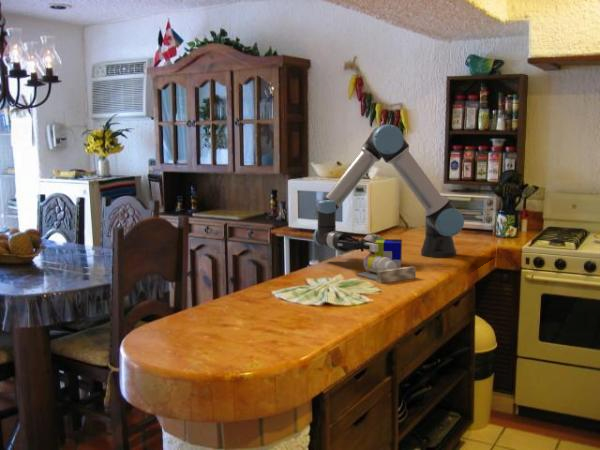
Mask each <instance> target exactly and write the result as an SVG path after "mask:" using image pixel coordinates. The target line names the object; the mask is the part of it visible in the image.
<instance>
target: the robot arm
mask: <svg viewBox="0 0 600 450" xmlns="http://www.w3.org/2000/svg"><path fill="white" fill-rule="evenodd" d="M381 159H383V161H384V162H385V164H391V165H392V166H393V168H394V169H395V171H396V173H397V174H398V175H399V176H400V178H401V179H402V180H403V181H404V183H405V184H406V186H407V187H408V188H409V190H410V191H411V192H412V193H413V195H414V196H415V198H416V199H417V201H419V203H420V204H421V206H422V207H423V208H424V209H425V210H424V216H425V227H424V229H425V231H424V232H425V233H424V234H425V235H424V240H423V244H422V247H421V249H420V255H422V256H424V257H429V258H451V257H455V256H457V249H456V247H455V243H454V239H453V237H454V236H457V235H458V234H459V233H461V232H462V230H463V227H464V225H465V218H464V215H463V213H462V212H461V211H459V209H457V208H456V207H455V206H454V205H453V204H454V203H452V202H451V201H450V199H449V198H447V197H443V195H441V193H440V191H439V190H438V189H437V188H436V186H435V185H434V184H433V182H432V181H431V180H430V178H429V177H428V176H427V174H426V173H425V171H424V170H423V169H422V168H421V166H420V165H419V163H418V162H417V160H416V159H415V158H414V157H413V155H412V154H411V152H410V144H409V143H408V142H407V140H406V139H405V138H404V134H403V132H402V131H401V129H400V128H399V127H397V126H395V125H393V124H382V125H380V126H377V127H375V128H374V129H373V130H372V131H371V133H370V135H369V136H368V138H367V139H366V140H365V142H364V144H363V145H362V146H361V150H360V153H358V155H357V156H356V158H355V159H354V160H353V161H352V162H351V164H350V165H349V166H348V168H347V169H346V170H345V172H343V174H342V175H341V177H339V179H338V180H337V181H336V183H335V184H334V185H333V186H332V187H331V189H330V190H329V191H328V193H327V194H326V195H325V197H324V198H323V199H322V200H319V201H317V206H316V208H315V214H316V216H317V228H316V229H315V230H314V231H313V235H312V239H313V242H314V243H315V244H316V245H317V246H320V247H323V248H329V249H334V252H335V251H341V252H346V251H349V250H356V251H358V250H360V252H364V251H367V252H369V251H372V252H378V244H373V243H372V242H371V241H368V240H365V239H364V238H360V239H359V238H355V237H354V236H352V235H351V234H350V233H349V232H346V231H340V230H336V218H337V217H336V216H337V215H336V212H337V210H338V209H339V208H340V207H341V205H342V204H343V203H344V202H345V200H346V199H347V198H348V197H349V196H350V194H351V193H352V192H353V191H354V189H355V188H356V187H357V185H358V184H359V183H360V181H361V180H362V179H363V178H364V177H365V176H366V174H367V173H368V172H369V171H370V169H371V168H372V167H373V166H374V164H375V163H376V162H380V160H381Z"/></svg>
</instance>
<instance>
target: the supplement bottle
mask: <svg viewBox="0 0 600 450" xmlns="http://www.w3.org/2000/svg"><path fill="white" fill-rule="evenodd" d="M363 267H364V270H366V271H367V272H374V273H377V271H381V270H389V269H396V268H397V266H396V263H395V262H393V261H391V259H390V258H387V257H383V256H378V255H375V253H374V254H372V253H370V254H368V255H366V256H365V257H364V260H363Z"/></svg>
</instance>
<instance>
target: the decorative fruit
mask: <svg viewBox="0 0 600 450" xmlns="http://www.w3.org/2000/svg"><path fill="white" fill-rule="evenodd" d="M363 239H365V240H368V241H371V242H372V243H373V244H375V242H376V240H377V239H383V238H382V237H381V236H380V235H379V234H375V233H368V234H367V235H366V236H364V238H363ZM368 252H369V253H370V254H374V255H375V252H372V251H368Z"/></svg>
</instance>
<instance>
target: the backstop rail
mask: <svg viewBox="0 0 600 450" xmlns="http://www.w3.org/2000/svg"><path fill="white" fill-rule="evenodd" d="M411 279H416V266H412V265H411V266H404V267H401V268H396V269H389V270H381V271H377V281H376V283H378V284H385V283H392V282H397V281H398V282H399V281H404V280H411Z"/></svg>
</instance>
